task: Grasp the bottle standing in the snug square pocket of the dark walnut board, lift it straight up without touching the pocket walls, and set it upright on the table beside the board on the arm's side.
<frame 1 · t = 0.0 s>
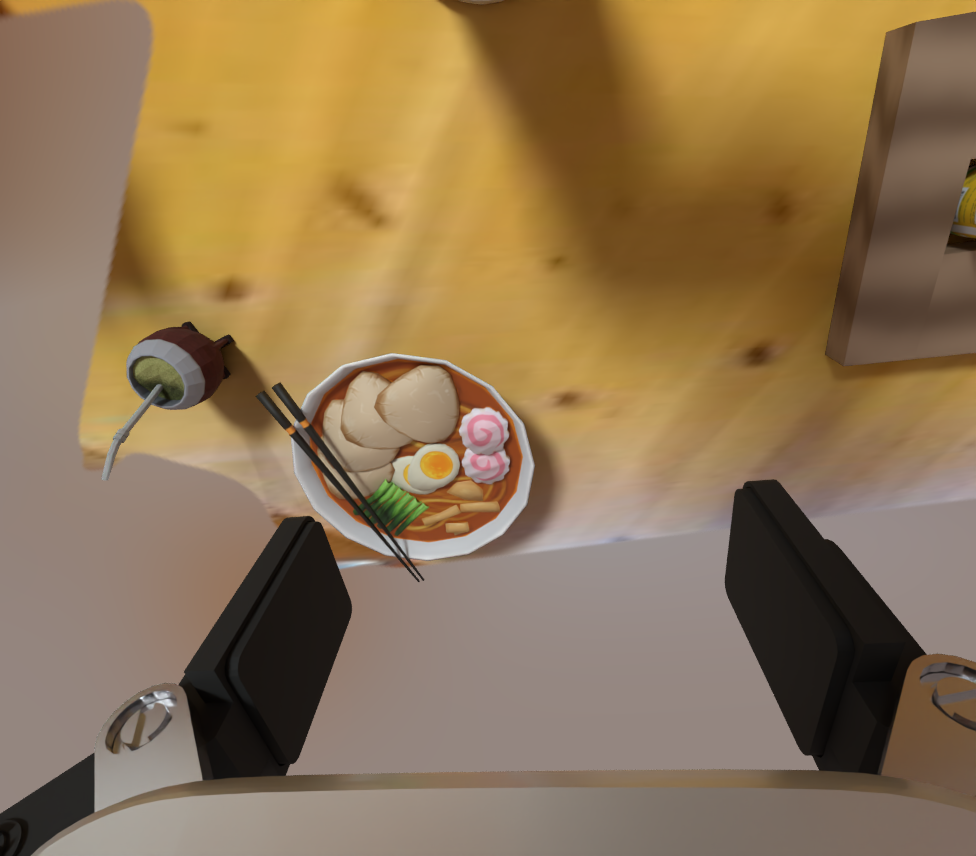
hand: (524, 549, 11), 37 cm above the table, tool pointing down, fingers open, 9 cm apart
pocket board: (973, 199, 39), on the table
ramen bowl: (425, 430, 53), on the table
supplement bottle: (971, 199, 40), resting in pocket board
mate gourd: (210, 354, 50), on the table
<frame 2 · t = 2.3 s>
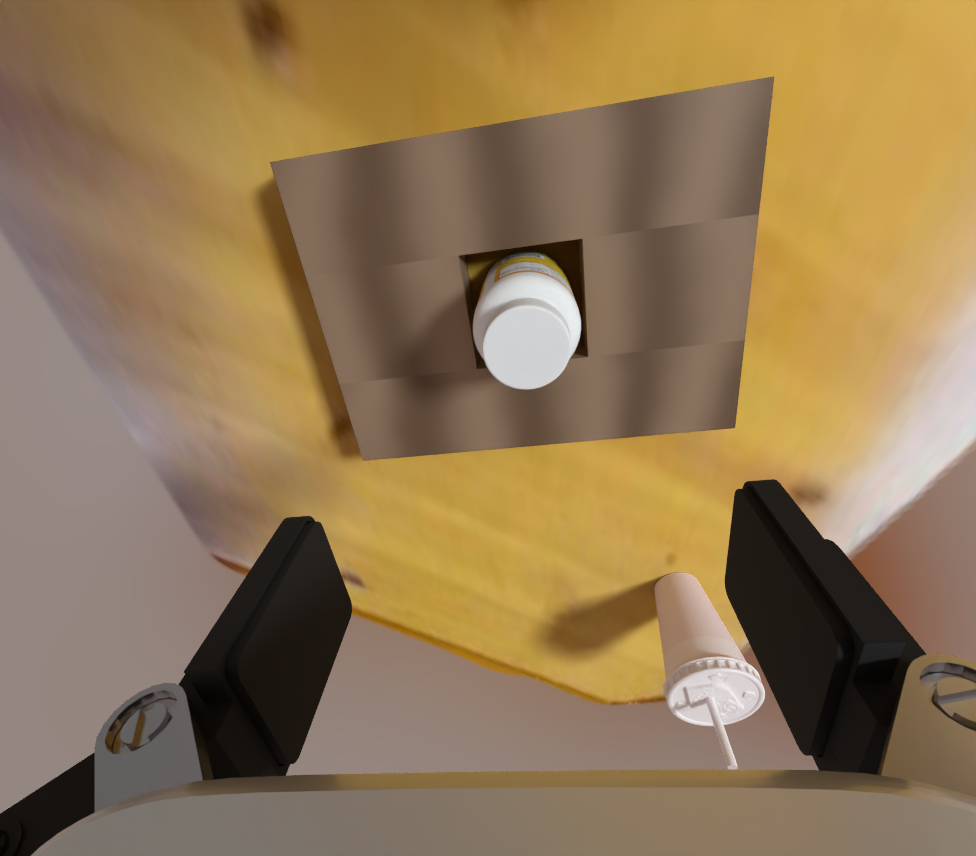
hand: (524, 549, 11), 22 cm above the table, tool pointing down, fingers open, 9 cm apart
pocket board: (525, 294, 30), on the table
supplement bottle: (525, 294, 31), resting in pocket board
smoothie: (676, 586, 42), on the table
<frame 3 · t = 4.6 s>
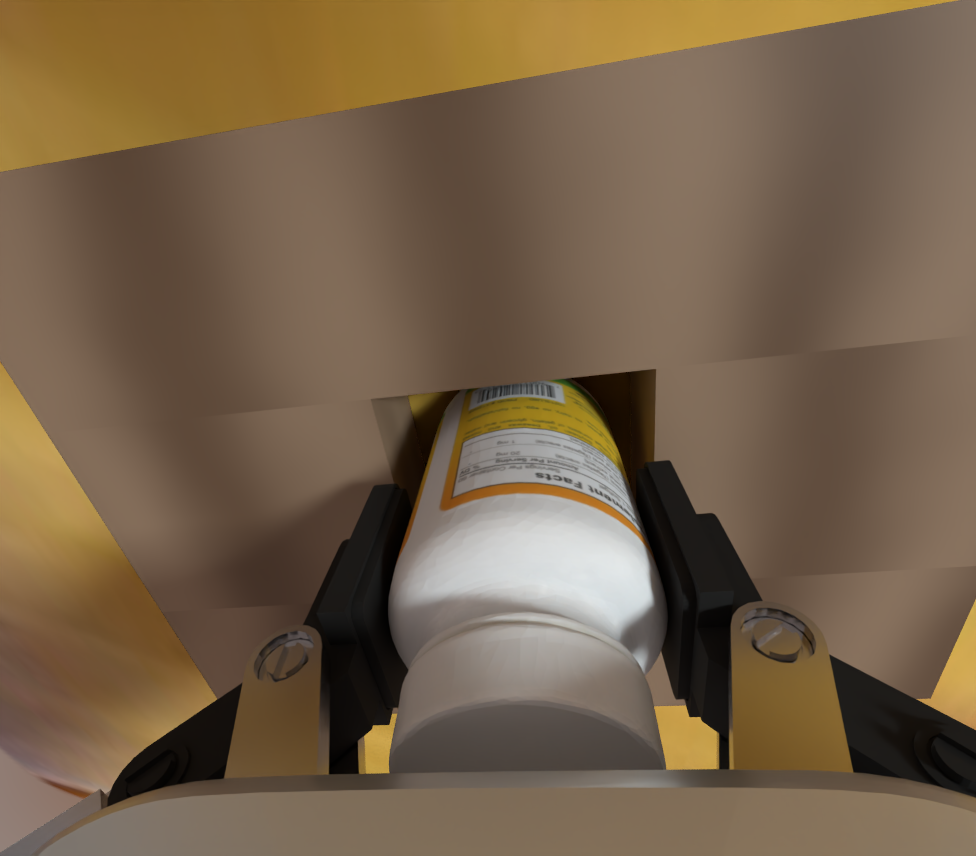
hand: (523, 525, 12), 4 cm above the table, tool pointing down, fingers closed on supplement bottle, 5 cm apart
pocket board: (523, 442, 16), on the table
supplement bottle: (523, 439, 16), resting in pocket board, touching gripper
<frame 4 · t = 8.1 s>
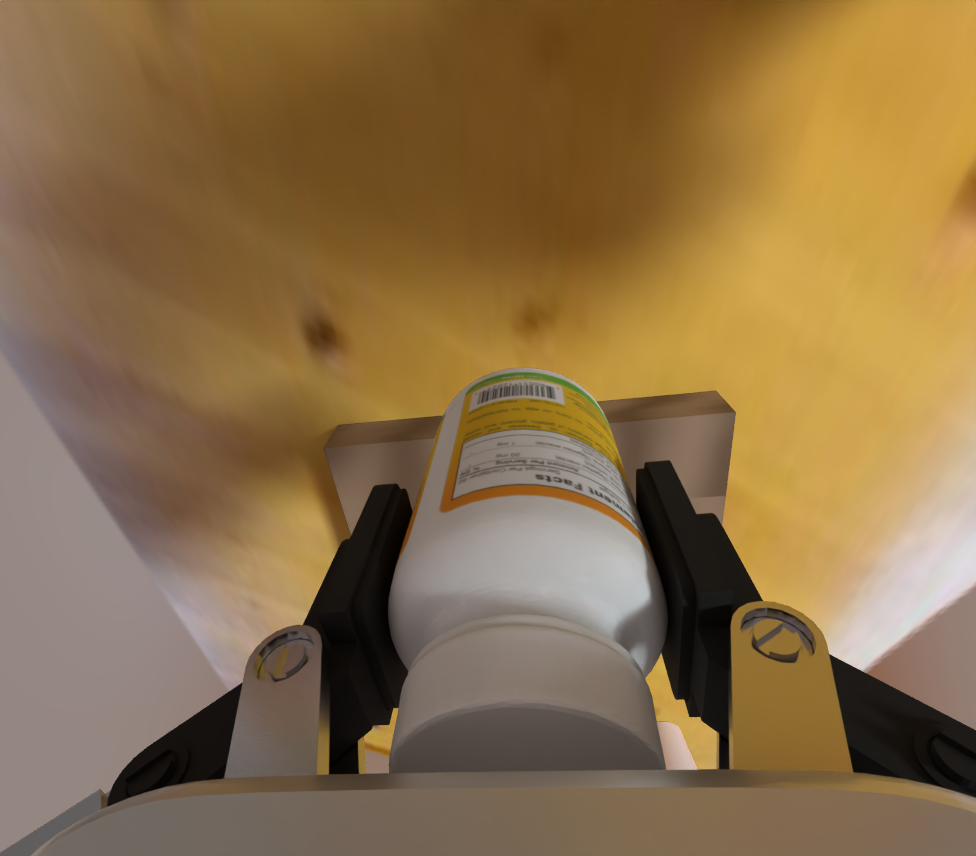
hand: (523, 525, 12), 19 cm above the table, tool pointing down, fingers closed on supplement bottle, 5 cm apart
pocket board: (532, 521, 36), on the table
supplement bottle: (523, 439, 16), point 15 cm above the table, touching gripper
smoothie: (660, 731, 47), on the table
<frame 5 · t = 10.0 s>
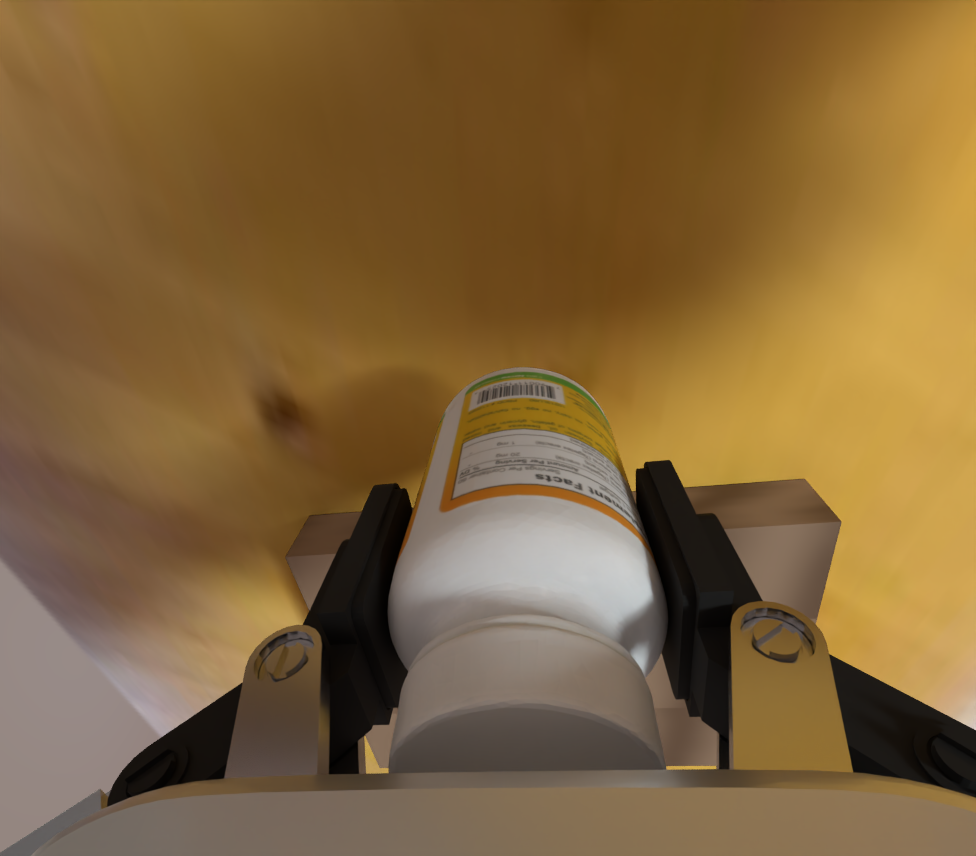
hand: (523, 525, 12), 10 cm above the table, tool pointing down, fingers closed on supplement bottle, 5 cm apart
pocket board: (555, 624, 28), on the table
supplement bottle: (523, 439, 16), point 6 cm above the table, touching gripper
when the fingers open (5 cm above the table, at t = 11.8 s): supplement bottle drops 1 cm, on the table.
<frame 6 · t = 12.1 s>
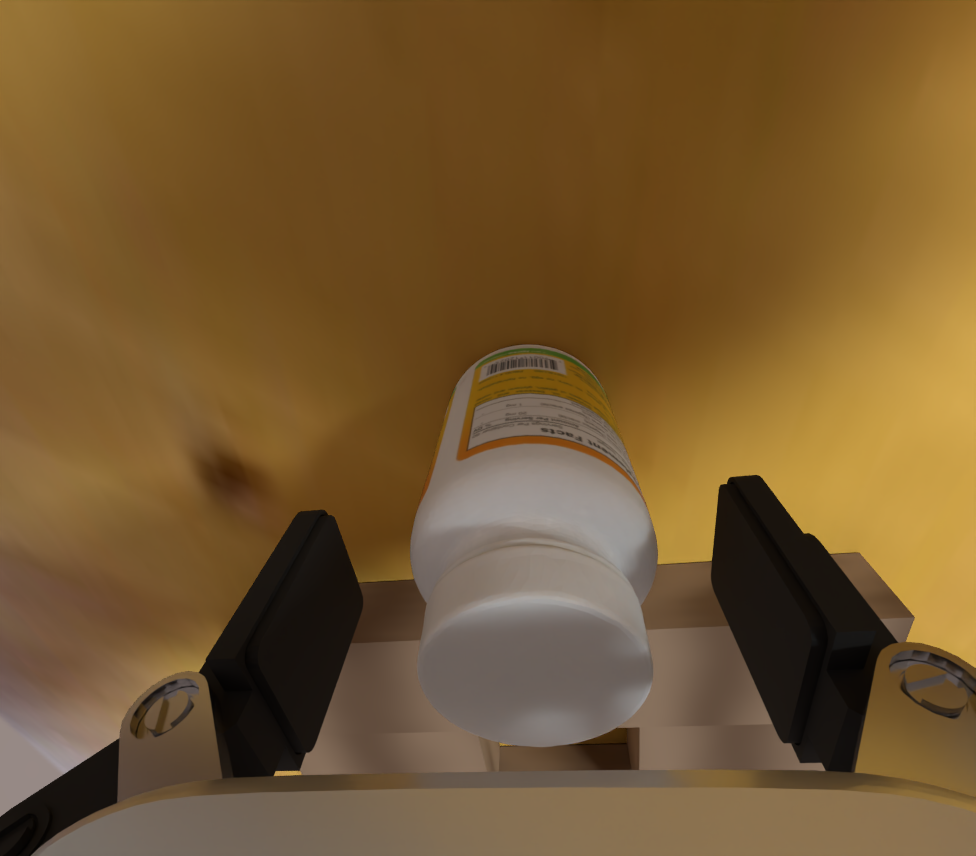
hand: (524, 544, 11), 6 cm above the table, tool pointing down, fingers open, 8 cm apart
pocket board: (557, 706, 24), on the table
supplement bottle: (527, 413, 17), on the table
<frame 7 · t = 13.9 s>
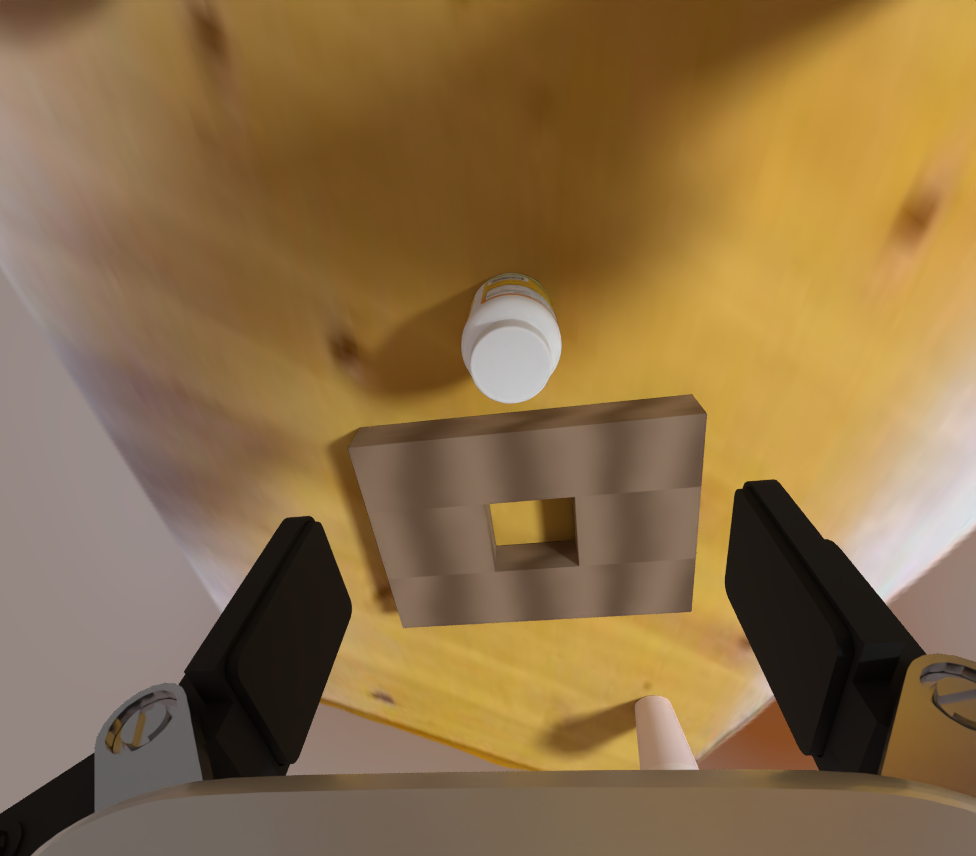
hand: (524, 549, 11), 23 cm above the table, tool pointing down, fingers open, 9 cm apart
pocket board: (531, 511, 40), on the table
supplement bottle: (511, 313, 33), on the table
smoothie: (652, 704, 51), on the table
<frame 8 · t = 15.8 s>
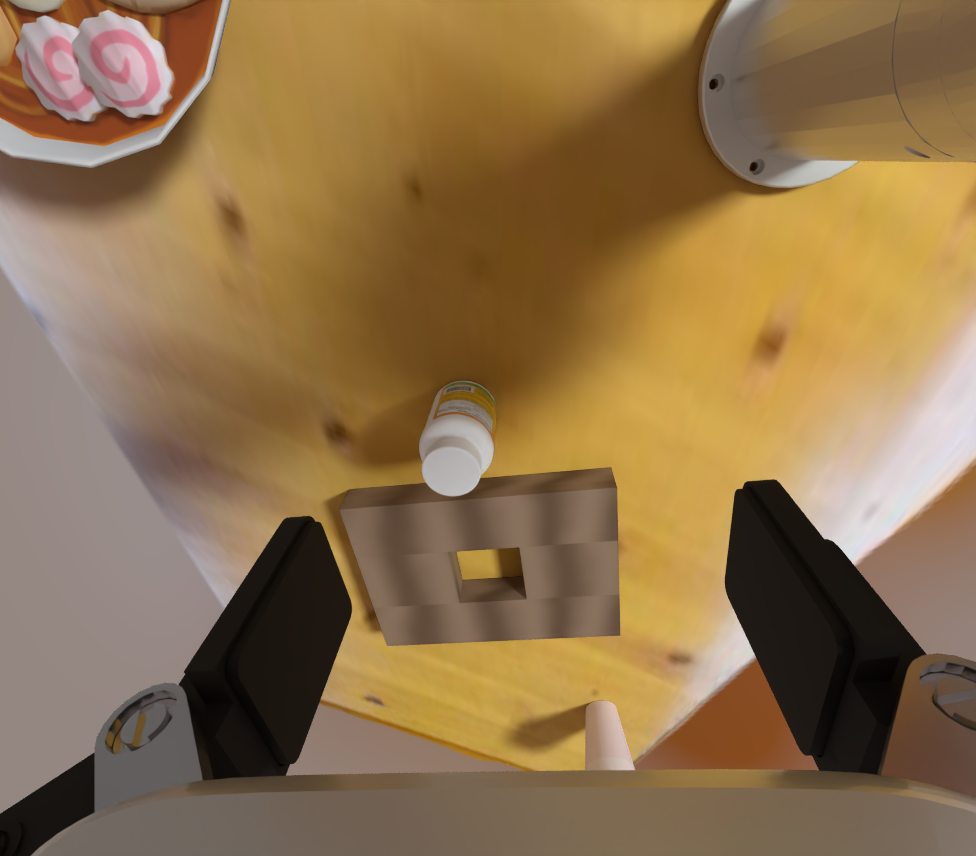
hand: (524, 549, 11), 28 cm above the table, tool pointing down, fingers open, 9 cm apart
pocket board: (489, 553, 49), on the table
supplement bottle: (465, 407, 42), on the table
smoothie: (600, 708, 60), on the table
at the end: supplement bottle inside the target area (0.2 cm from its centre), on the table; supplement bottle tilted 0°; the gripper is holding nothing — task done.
